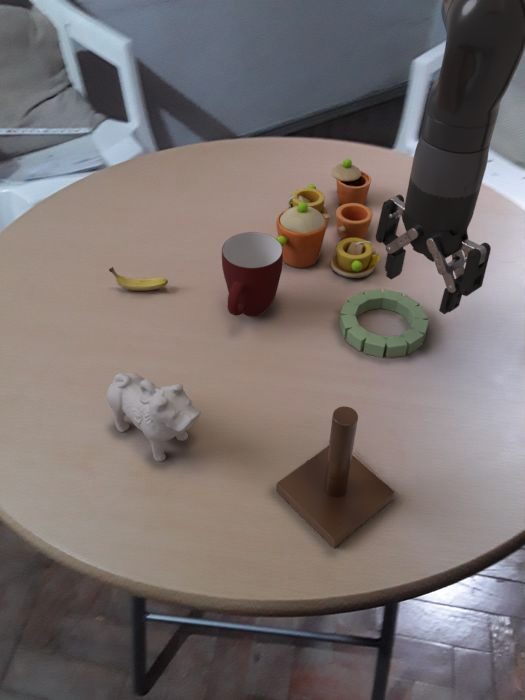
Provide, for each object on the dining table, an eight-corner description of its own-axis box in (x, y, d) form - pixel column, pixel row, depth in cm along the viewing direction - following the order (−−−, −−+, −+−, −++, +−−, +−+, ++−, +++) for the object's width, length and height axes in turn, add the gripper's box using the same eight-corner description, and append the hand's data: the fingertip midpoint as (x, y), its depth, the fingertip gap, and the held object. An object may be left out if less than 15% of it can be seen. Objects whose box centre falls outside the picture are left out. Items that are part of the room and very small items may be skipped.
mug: (267, 343, 91) (267, 285, 84) (210, 331, 92) (206, 273, 85) (287, 294, 98) (289, 237, 91) (234, 284, 100) (232, 227, 93)
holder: (334, 448, 78) (345, 367, 69) (393, 499, 74) (413, 420, 64) (275, 491, 74) (278, 411, 65) (333, 548, 69) (345, 471, 60)
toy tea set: (377, 286, 99) (386, 231, 93) (272, 279, 100) (273, 224, 94) (375, 191, 118) (382, 140, 111) (286, 186, 119) (288, 134, 112)
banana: (111, 293, 98) (107, 271, 95) (113, 286, 99) (109, 264, 96) (168, 294, 98) (165, 272, 95) (169, 286, 99) (167, 264, 96)
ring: (380, 289, 99) (381, 278, 98) (442, 331, 93) (445, 320, 91) (322, 323, 94) (323, 313, 92) (385, 370, 87) (387, 359, 86)
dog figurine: (183, 482, 75) (176, 421, 68) (105, 424, 81) (90, 362, 73) (215, 452, 78) (211, 390, 71) (138, 398, 84) (126, 336, 76)
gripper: (523, 192, 71) (484, 309, 82) (418, 140, 78) (396, 254, 90) (479, 217, 67) (445, 336, 79) (373, 160, 75) (356, 276, 86)
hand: (419, 292), depth 84 cm, fingers open, 8 cm apart
